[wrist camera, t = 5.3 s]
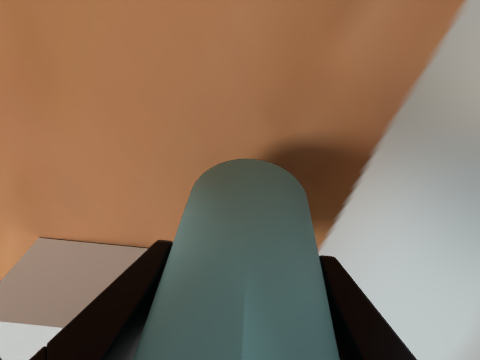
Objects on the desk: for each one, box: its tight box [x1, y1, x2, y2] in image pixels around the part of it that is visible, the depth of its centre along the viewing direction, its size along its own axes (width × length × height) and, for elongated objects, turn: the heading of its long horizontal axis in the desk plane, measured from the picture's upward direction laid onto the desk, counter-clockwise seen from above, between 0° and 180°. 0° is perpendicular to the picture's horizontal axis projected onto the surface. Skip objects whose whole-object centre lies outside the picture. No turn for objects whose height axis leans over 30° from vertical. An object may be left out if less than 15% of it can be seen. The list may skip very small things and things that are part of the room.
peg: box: [133, 159, 340, 360], centre depth 7 cm, size 4×4×8 cm
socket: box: [0, 238, 148, 360], centre depth 15 cm, size 9×9×4 cm
